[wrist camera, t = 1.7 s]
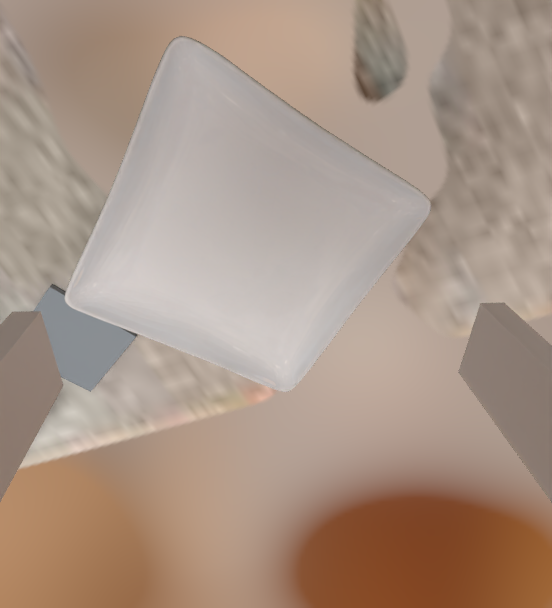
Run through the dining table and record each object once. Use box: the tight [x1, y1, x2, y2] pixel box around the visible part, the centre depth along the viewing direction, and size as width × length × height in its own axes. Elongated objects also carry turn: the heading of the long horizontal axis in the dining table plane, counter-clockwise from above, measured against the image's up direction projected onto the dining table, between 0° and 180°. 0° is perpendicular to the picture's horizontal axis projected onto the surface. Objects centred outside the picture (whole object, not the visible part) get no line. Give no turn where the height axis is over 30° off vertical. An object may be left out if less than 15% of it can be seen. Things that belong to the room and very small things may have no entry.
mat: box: [34, 284, 137, 392], centre depth 37 cm, size 8×8×1 cm
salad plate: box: [65, 36, 431, 392], centre depth 32 cm, size 21×21×3 cm
